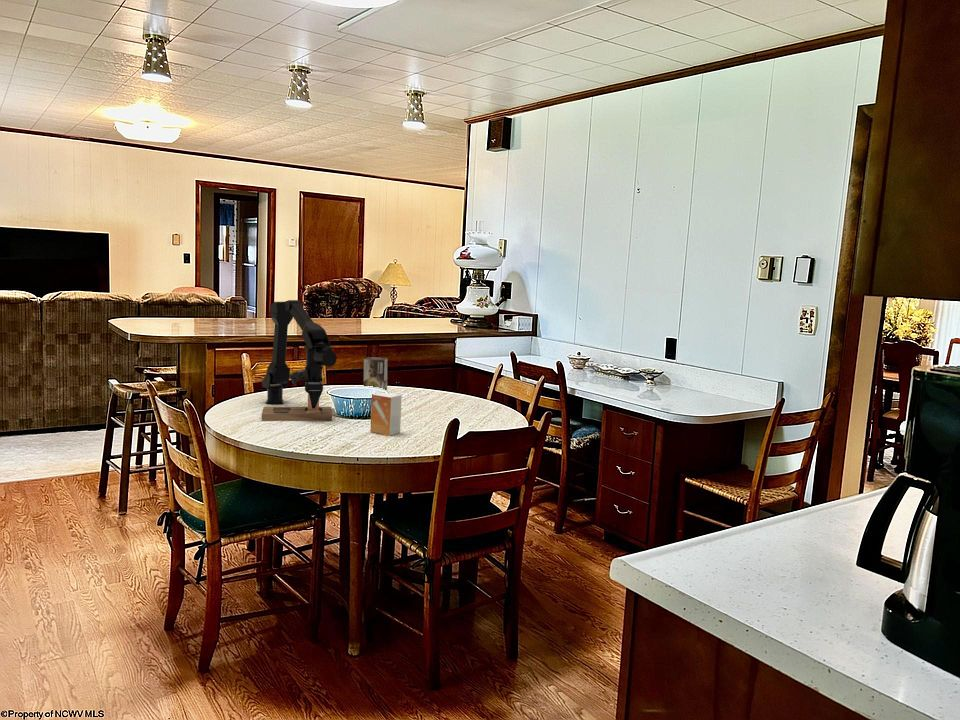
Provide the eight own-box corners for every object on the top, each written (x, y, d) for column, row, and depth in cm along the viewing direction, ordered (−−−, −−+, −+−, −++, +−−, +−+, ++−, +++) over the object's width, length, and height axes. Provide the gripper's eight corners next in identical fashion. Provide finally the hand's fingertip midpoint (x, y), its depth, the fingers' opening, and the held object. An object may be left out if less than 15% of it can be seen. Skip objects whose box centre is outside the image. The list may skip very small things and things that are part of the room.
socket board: (263, 413, 267) (263, 405, 267) (331, 413, 273) (331, 405, 272) (261, 420, 256) (261, 412, 255) (332, 420, 261) (332, 412, 261)
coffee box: (387, 395, 314) (388, 358, 311) (383, 398, 307) (385, 359, 305) (366, 394, 314) (367, 356, 312) (362, 396, 308) (363, 358, 306)
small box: (369, 432, 247) (371, 394, 245) (381, 429, 252) (382, 391, 251) (389, 436, 243) (391, 397, 241) (400, 432, 248) (402, 394, 247)
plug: (307, 415, 268) (307, 393, 267) (318, 415, 269) (319, 393, 268) (307, 417, 264) (307, 395, 263) (318, 417, 265) (319, 395, 264)
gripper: (291, 358, 271) (291, 400, 273) (290, 366, 253) (289, 411, 255) (322, 359, 274) (321, 400, 276) (323, 367, 256) (322, 411, 258)
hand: (313, 405), depth 266 cm, fingers open, 9 cm apart
